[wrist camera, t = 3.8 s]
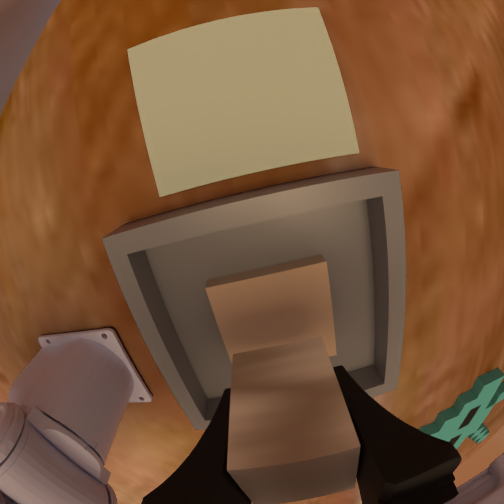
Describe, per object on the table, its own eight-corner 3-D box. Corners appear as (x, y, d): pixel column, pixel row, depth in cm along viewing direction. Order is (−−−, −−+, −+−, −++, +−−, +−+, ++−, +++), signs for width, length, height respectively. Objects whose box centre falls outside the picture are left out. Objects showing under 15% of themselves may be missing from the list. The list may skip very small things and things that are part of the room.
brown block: (252, 407, 14) (255, 505, 8) (232, 354, 12) (226, 470, 7) (326, 392, 13) (354, 487, 8) (320, 335, 12) (360, 446, 6)
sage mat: (161, 196, 16) (159, 197, 16) (129, 51, 13) (127, 49, 13) (356, 152, 16) (359, 152, 15) (316, 9, 12) (317, 7, 12)
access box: (200, 402, 22) (195, 430, 19) (124, 224, 17) (101, 238, 14) (383, 363, 21) (396, 388, 18) (373, 166, 16) (398, 170, 13)
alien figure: (528, 348, 24) (436, 390, 24) (536, 356, 21) (444, 403, 22) (479, 431, 30) (390, 470, 30) (484, 439, 28) (394, 480, 28)
